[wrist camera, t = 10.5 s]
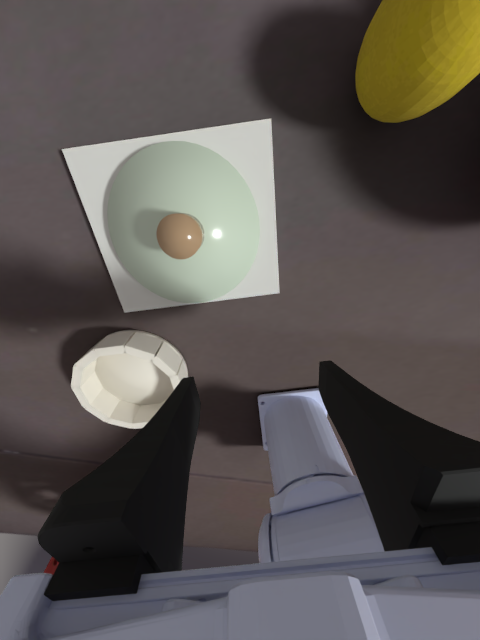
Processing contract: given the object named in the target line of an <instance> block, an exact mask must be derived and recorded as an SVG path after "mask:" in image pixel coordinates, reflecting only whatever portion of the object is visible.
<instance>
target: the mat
mask: <svg viewBox="0 0 480 640" xmlns="http://www.w3.org/2000/svg"><path fill="white" fill-rule="evenodd" d="M168 141H186V142H190V143H195V144H198V145H201V146H204V147H206V148H209V149H210V150H212V151H214V152H216V153H218V154H219V155H220V156H222V157H223V158H224V159H226V160H227V161H228V162H229V163H230V164H231V165H232V166H233V167H234V168H235V169H236V170H237V171H238V172H239V174H240V175H241V176H242V177H243V179H244V180H245V182H246V184H247V185H248V187H249V189H250V191H251V193H252V195H253V198H254V200H255V203H256V207H257V210H258V216H259V223H260V238H259V245H258V250H257V254H256V257H255V260H254V262H253V264H252V266H251V268H250V270H249V272H248V273H247V275H246V276H245V277H244V279H243V280H242V281H241V282H240V283H239V284H238V285H237V286H236V287H235V288H234V289H232V290H231V291H230V292H228V293H227V294H225V295H223V296H221V297H219V298H217V299H214V300H211V301H207V302H213V301H220V300H228V299H236V298H244V297H252V296H260V295H268V294H276V293H279V275H278V254H277V233H276V212H275V191H274V170H273V149H272V128H271V119H264V120H258V121H251V122H244V123H237V124H230V125H224V126H217V127H210V128H203V129H196V130H190V131H183V132H176V133H169V134H163V135H156V136H149V137H142V138H135V139H129V140H122V141H115V142H108V143H101V144H95V145H88V146H81V147H74V148H67V149H62V151H63V154H64V157H65V159H66V162H67V164H68V167H69V170H70V172H71V175H72V177H73V180H74V183H75V185H76V188H77V191H78V193H79V196H80V198H81V201H82V204H83V206H84V209H85V211H86V214H87V217H88V219H89V222H90V224H91V227H92V230H93V232H94V235H95V237H96V240H97V243H98V245H99V248H100V250H101V253H102V256H103V258H104V261H105V263H106V266H107V269H108V271H109V274H110V276H111V279H112V282H113V284H114V287H115V289H116V292H117V295H118V297H119V300H120V302H121V305H122V308H123V310H124V313H125V312H133V311H141V310H149V309H157V308H165V307H173V306H181V305H189V304H197V303H182V302H176V301H172V300H168V299H166V298H163V297H161V296H159V295H157V294H155V293H153V292H151V291H150V290H148V289H147V288H145V287H144V286H143V285H141V284H140V283H139V282H138V281H137V280H136V279H135V278H134V277H133V276H132V275H131V274H130V273H129V272H128V270H127V269H126V268H125V266H124V265H123V264H122V262H121V260H120V259H119V257H118V255H117V253H116V251H115V248H114V246H113V243H112V240H111V237H110V232H109V227H108V217H107V211H108V200H109V195H110V191H111V188H112V185H113V182H114V180H115V179H116V177H117V175H118V173H119V171H120V170H121V169H122V167H123V166H124V164H125V163H126V162H127V161H128V160H129V159H130V158H131V157H132V156H134V155H135V154H137V153H138V152H139V151H141V150H142V149H145V148H147V147H149V146H151V145H154V144H157V143H161V142H168ZM202 303H205V302H202Z"/></svg>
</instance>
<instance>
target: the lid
mask: <svg viewBox="0 0 480 640" xmlns="http://www.w3.org/2000/svg"><path fill="white" fill-rule="evenodd" d="M107 217H108V227H109V232H110V237H111V240H112V243H113V246H114V248H115V251H116V253H117V255H118V257H119V259H120V260H121V262H122V264H123V265H124V266H125V268H126V269H127V270H128V272H129V273H130V274H131V275H132V276H133V277H134V278H135V279H136V280H137V281H138V282H139V283H140V284H141V285H143V286H144V287H145V288H147V289H148V290H150V291H151V292H153V293H155V294H157V295H159V296H161V297H163V298H166V299H168V300H172V301H176V302H182V303H202V302H207V301H211V300H214V299H217V298H219V297H221V296H223V295H225V294H227V293H228V292H230V291H231V290H232V289H234V288H235V287H236V286H237V285H238V284H239V283H240V282H241V281H242V280H243V279H244V277H245V276H246V275H247V273H248V272H249V270H250V268H251V266H252V264H253V262H254V260H255V257H256V254H257V250H258V245H259V238H260V223H259V216H258V210H257V207H256V203H255V200H254V198H253V195H252V193H251V191H250V189H249V187H248V185H247V184H246V182H245V180H244V179H243V177H242V176H241V175H240V174H239V172H238V171H237V170H236V169H235V168H234V167H233V166H232V165H231V164H230V163H229V162H228V161H227V160H226V159H224V158H223V157H222V156H220V155H219V154H218V153H216V152H214V151H212V150H210V149H209V148H206V147H204V146H201V145H198V144H195V143H190V142H186V141H168V142H161V143H157V144H154V145H151V146H149V147H147V148H145V149H142V150H141V151H139V152H138V153H137V154H135V155H134V156H132V157H131V158H130V159H129V160H128V161H127V162H126V163H125V164H124V166H123V167H122V169H121V170H120V171H119V173H118V175H117V177H116V179H115V180H114V182H113V185H112V188H111V191H110V195H109V200H108V211H107Z"/></svg>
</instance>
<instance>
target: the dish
mask: <svg viewBox="0 0 480 640" xmlns="http://www.w3.org/2000/svg"><path fill="white" fill-rule="evenodd" d="M187 377H188V368H187V364H186V362H185V359H184V358H183V356H182V354H181V353H180V352H179V350H178V349H177V348H176V347H175V346H174V345H172V344H171V343H170V342H169V341H167V340H165V339H164V338H162V337H160V336H158V335H155V334H153V333H150V332H146V331H141V330H122V331H117V332H114V333H111V334H109V335H107V336H106V337H104V338H103V339H101V340H100V341H99V342H98V343H97V344H96V345H95V346H93V347H92V348H91V349H90V350H89V351H88V352H87V353H86V354H85V355H84V356H82V357H81V358H80V359H79V360H78V361H77V362H76V363H75V364H74V366H73V373H72V381H71V386H72V387H71V388H72V390H73V392H74V393H75V395H76V397H77V398H78V400H79V402H80V403H81V405H82V407H85V408H84V409H86V410H87V411H89V412H90V413H92V414H93V415H95V416H96V417H98V418H99V419H101V420H102V421H104V422H106V421H107V423H109V424H113V425H117V426H121V427H125V428H130V429H132V427H133V429H139V428H143V427H144V426H145V425H146V424H147V423H148V422H149V421H150V420H151V418H152V417H153V416H154V415H155V414H156V412H157V411H158V410H159V409H160V408H161V406H162V405H163V404H164V403H165V401H166V400H167V399H168V397H169V396H170V395H171V393H172V392H173V391H174V389H175V388H176V387H177V385H178V384H179V382H180V381H181V380H182V379H183V378H187Z"/></svg>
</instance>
